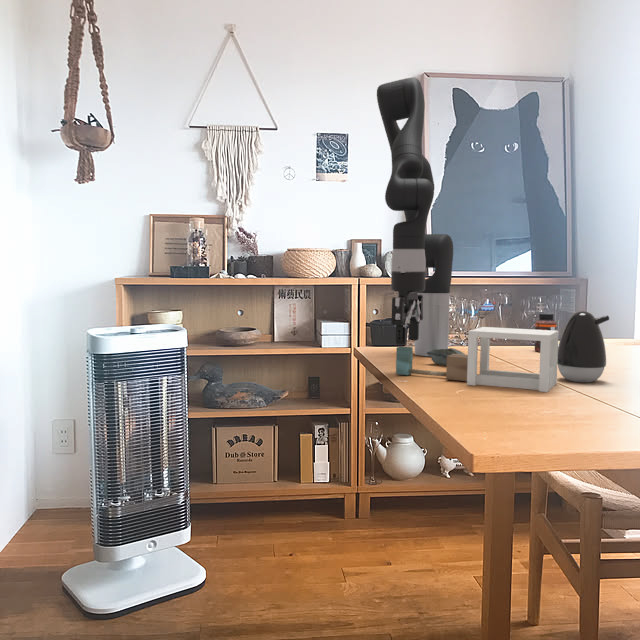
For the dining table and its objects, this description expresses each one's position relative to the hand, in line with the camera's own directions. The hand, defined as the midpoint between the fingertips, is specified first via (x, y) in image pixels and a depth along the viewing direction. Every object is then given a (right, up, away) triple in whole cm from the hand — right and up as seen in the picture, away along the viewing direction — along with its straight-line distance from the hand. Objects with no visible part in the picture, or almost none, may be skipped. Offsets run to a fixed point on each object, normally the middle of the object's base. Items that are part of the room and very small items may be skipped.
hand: (407, 342), depth 157 cm
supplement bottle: (+47, -5, +49) cm, 68 cm away
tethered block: (+6, -7, -3) cm, 10 cm away
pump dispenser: (+37, -8, -4) cm, 38 cm away
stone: (+14, -7, +18) cm, 24 cm away
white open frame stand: (+21, -8, -10) cm, 25 cm away
